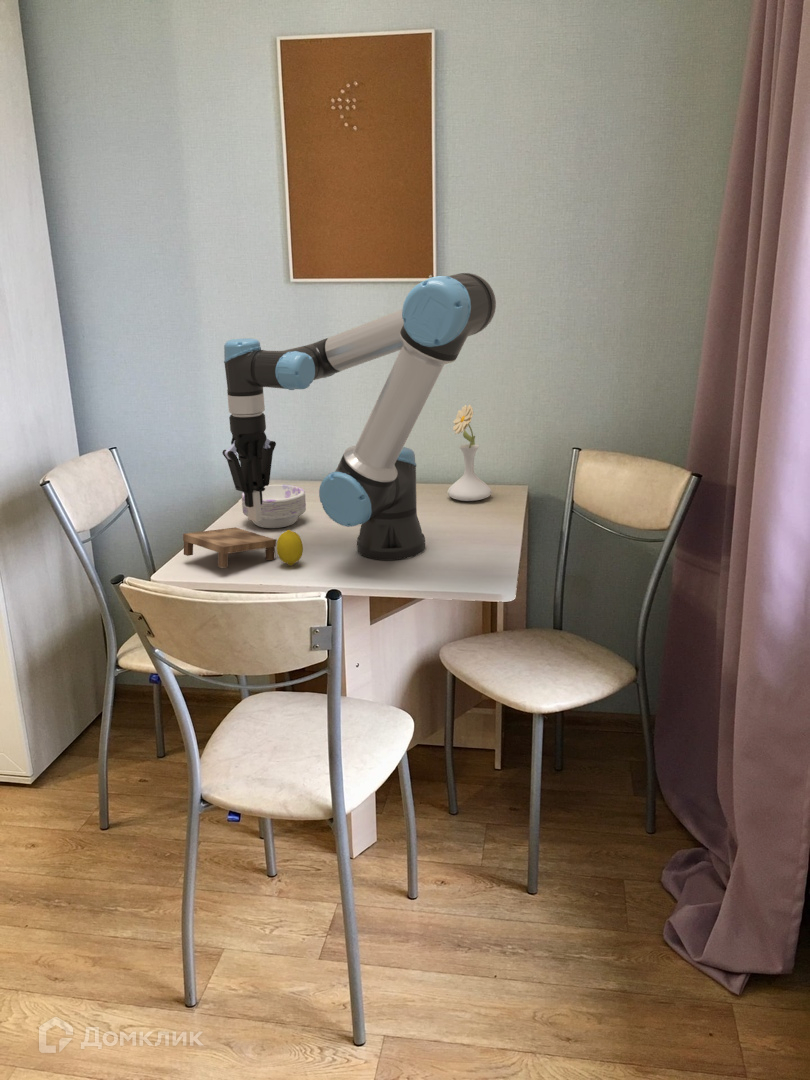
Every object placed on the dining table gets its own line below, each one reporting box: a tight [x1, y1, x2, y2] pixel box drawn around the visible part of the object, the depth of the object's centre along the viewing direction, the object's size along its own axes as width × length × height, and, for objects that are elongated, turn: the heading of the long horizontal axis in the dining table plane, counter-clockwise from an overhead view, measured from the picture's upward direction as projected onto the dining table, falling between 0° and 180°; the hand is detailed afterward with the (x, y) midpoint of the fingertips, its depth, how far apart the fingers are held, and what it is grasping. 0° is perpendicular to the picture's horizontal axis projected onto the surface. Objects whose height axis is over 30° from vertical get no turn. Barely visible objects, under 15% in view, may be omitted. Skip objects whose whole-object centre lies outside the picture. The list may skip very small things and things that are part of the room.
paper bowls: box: [241, 484, 307, 529], centre depth 236 cm, size 15×15×8 cm
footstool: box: [182, 527, 277, 569], centre depth 211 cm, size 14×4×14 cm
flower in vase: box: [447, 403, 493, 502], centre depth 248 cm, size 13×11×25 cm
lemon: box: [276, 529, 304, 567], centre depth 207 cm, size 6×6×8 cm
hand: (255, 519), depth 215 cm, fingers closed
